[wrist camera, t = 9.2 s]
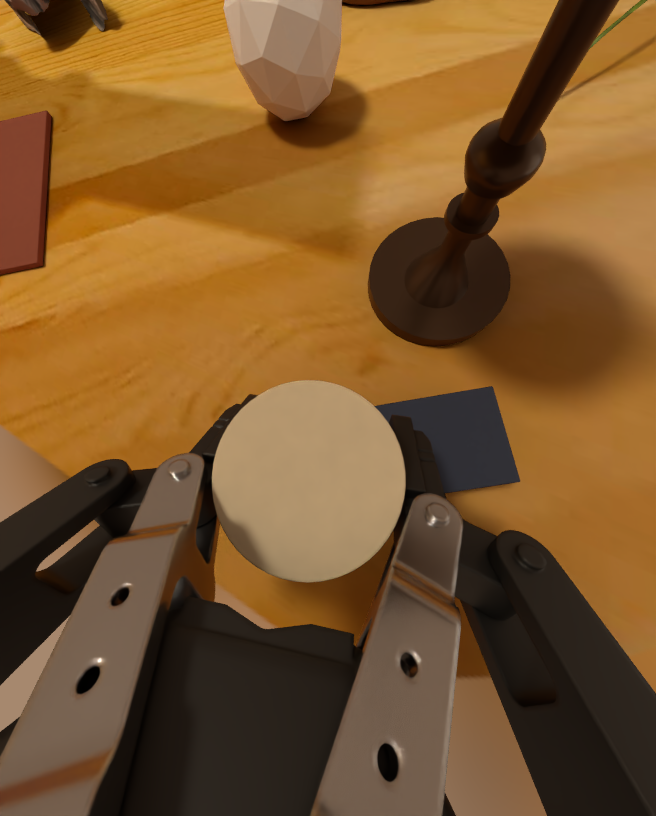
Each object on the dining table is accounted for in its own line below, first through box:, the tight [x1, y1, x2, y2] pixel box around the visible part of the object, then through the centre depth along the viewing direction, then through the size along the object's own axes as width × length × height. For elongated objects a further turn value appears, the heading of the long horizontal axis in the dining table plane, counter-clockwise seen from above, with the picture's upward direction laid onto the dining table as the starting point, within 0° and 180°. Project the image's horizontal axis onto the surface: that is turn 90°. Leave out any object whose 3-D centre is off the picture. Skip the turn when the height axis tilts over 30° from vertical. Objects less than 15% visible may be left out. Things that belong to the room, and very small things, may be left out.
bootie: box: [212, 380, 520, 582], centre depth 11 cm, size 12×5×9 cm, turn 99°
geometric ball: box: [224, 0, 342, 121], centre depth 17 cm, size 8×8×8 cm
